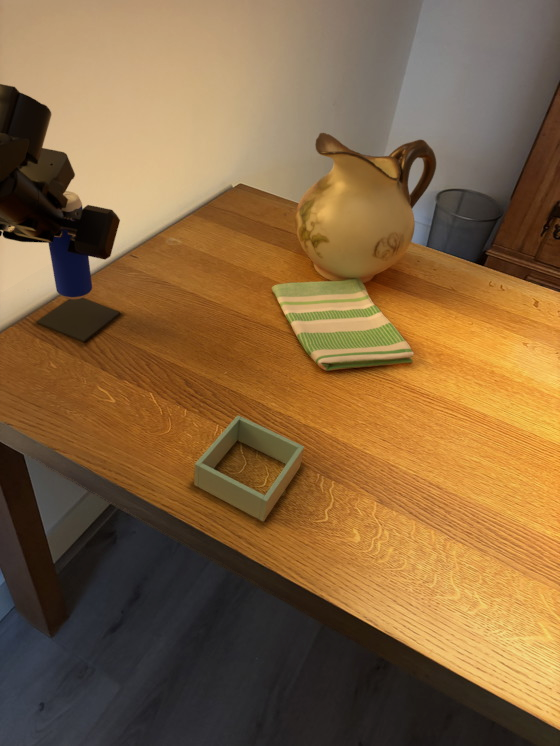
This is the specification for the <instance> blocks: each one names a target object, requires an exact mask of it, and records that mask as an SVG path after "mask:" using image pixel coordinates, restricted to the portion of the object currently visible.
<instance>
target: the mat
mask: <svg viewBox="0 0 560 746" xmlns="http://www.w3.org/2000/svg"><path fill="white" fill-rule="evenodd" d="M120 315H121V311H118V310H116V309H113V308H110V307H108V306H105V305H103V304H100V303H97V302H96V301H92V300H89V299H87V298H86V297H83V298H80V299H67V300H66V301H64V302H63V303H61V304H60V305H59V306H56V307H55V308H54V309H53V310H51V311H50V312H48V313H47V314H45V315H44V316H43V317H41V318H39V319H38V320H36V324H37V325H40V326H43V327H45V328H47V329H49V330H53V331H55V332H57V333H60V334H62V335H64V336H67V337H70V338H71V339H75V340H77V341H80V342H82V343H86V342H87V341H88V340H89V339H90V338H92V337H93V336H94V335H96V334H97V333H98V332H100V331H101V330H102V329H103V328H104V327H106V326H107V325H108V324H110V323H111V322H112V321H113V320H115V319H116V318H117V317H118V316H120Z"/></svg>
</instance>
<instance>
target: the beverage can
mask: <svg viewBox="0 0 560 746" xmlns="http://www.w3.org/2000/svg"><path fill="white" fill-rule="evenodd" d="M63 195H64V196H65V197H66V198H67V199H68V202H67V205H66V208H62V211H67V212H73V210H75V209H82V210H83V208H84V207H83V202H82V200H81V199H80V196H79V195H78V194H77V193H75V192H73V191H69V190H66V191H65V193H64V194H63ZM66 220H67V219H66ZM69 220H70V219H69ZM73 220H74V219H73ZM74 221H75V220H74ZM61 230H62V229H60V231H61ZM70 239H71V236H70V235H69V234H68V231H67V230H63V236H62V237H61V238H59V237H55V236H54V239H53V242H48V243H47V244H48V249H49V254H50V261H51V266H52V271H53V278H54V285H55V287H56V289H55V290H56V292H57V293H58V294H59V295H60V296H61V297H63V298H65V299H67V300H69V299H80V298H86V297H87V296H88V295H90V293H91V291H92V289H93V282H92V274H91V267H90V258H89V257H90V256H86V255H80V254H75V253H71V252H67V250H68V247H69V243H70Z"/></svg>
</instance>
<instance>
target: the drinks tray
mask: <svg viewBox="0 0 560 746" xmlns="http://www.w3.org/2000/svg"><path fill="white" fill-rule="evenodd" d="M237 441H238V442H240V443H242V444H244V445H246V446H248V447H250V448H252V449H255V450H256V451H258V452H260V453H262V454H264V455H266V456H268V457H270V458H273V459H275V460H277V461H279V462H281V463H283V464H285V466H284V467H283V469H282V470H281V471H280V473H279V474H278V476H277V478H276V479H275V480H274V482H273V483H272V484H271V486H270V487H269V488H268V490H267V491H266V493H265V494H263V493H261V492H259V491H258V490H256V489H253V488H251V487H249V486H247V485H246V484H244V483H241V482H240V481H238V480H235V479H234V478H232V477H230V476H228V475H226V474H224V473H222V472H220V471H218V470H217V469H215V468H216V467H217V465H218V464H219V463H220V462H221V460H222V459H223V458H224V457H225V456H226V454H227V453H228V452H229V451H230V450H231V449H232V447H233V446H234V445H235V444H236V442H237ZM304 450H305V446H304V445H302V444H300V443H298V442H296V441H293V440H291V439H289V438H287V437H285V436H283V435H281V434H279V433H277V432H275V431H272V430H270V429H269V428H266V427H264V426H262V425H260V424H258V423H256V422H253V420H252V421H251V420H250V419H247V418H245V417H243V416H241V415H239V414H237V415H236V416H235V418H233V419H232V421H231V422H230V423H229V424H228V426H226V428H225V429H224V430H223V431H222V432H221V433H220V434H219V436H218V437H217V438H216V439H215V440H214V441H213V442H212V444H210V446H209V447H208V448H207V449H206V450H205V452H204V453H203V454H202V455H201V456H200V457H199V458H198V459H197V461H196V462H195V463H194V478H193V479H194V480H193V481H194V483H193V484H194V486H195V487H197V488H199V489H201V490H203V491H204V492H206V493H208V494H210V495H212V496H214V497H215V498H217V499H219V500H221V501H223V502H225V503H227V504H229V505H231V506H233V507H234V508H237V509H239V510H240V511H242V512H244V513H246V514H248V515H249V516H251V517H253V518H255V519H257V520H259V521H261V522H263V523H264V522H265V520H266V519H267V518H268V516H269V514H270V513H271V511H272V510H273V509H274V507H275V505H276V504H277V503H278V501H279V499H280V498H281V497H282V495H283V494H284V492H285V491H286V489H287V487H288V486H289V485H290V483H291V481H292V480H293V478H294V477H295V475H296V474H297V472H298V471H299V469H300V468H301V465H302V459H303V455H304Z"/></svg>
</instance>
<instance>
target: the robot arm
mask: <svg viewBox="0 0 560 746" xmlns="http://www.w3.org/2000/svg"><path fill="white" fill-rule="evenodd" d="M51 119H52V111H51V110H50V108H49V107H48V106H47V104H45V103H41V102H39V101H38V100H36V99H35V98H33V97H31V96H30V95H27V94H25V93H23V92H20V91H19V90H18V89H17V87H16V86H13V85H8V84H3V83H0V237H1V236H2V237H3V238H4V239H6V240H11V241H16V242H20V243H41V244H42V243H45V244H49V243H48V242H53V239H54V236H55V237H59V238H61V237H62V236H63V230H67V231H68V234H69V235H70V236H71V239H70V243H69V247H68V250H67V252H71V253H75V254H80V255H86V256H88V257H91V258H96V259H101V260H107V259H109V258H111V256H112V253H113V248H114V244H115V240H116V237H117V234H118V229H119V227H120V222H121V219H120V217H119V216H118V215H117V213H116V212H115V211H114V210H113V209H110V208H105V207H100V206H97V205H96V206H95V205H90V204H87V205H86V206H84V207H82V208H83V210H82V209H75V210H73V212H67V211H62V208H66V205H67V202H68V199H67V198H66V197H65V196H64V195H63V194H64V193H65V191H67V189H68V187H69V186H70V184H71V182H72V180H74V179H75V177H76V173H75V171H74V168H73V166H72V163H71V161H70V159H69V156H68V154H67V153H66V152H64V151H60V150H56V149H50V148H45V147H44V143H45V139H46V137H47V136H46V135H47V133H48V129H49V126H50V122H51ZM66 219H67V220H66ZM69 219H70V220H69ZM73 219H74V220H75V221H74V220H73ZM60 229H62V230H61V231H60Z"/></svg>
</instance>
